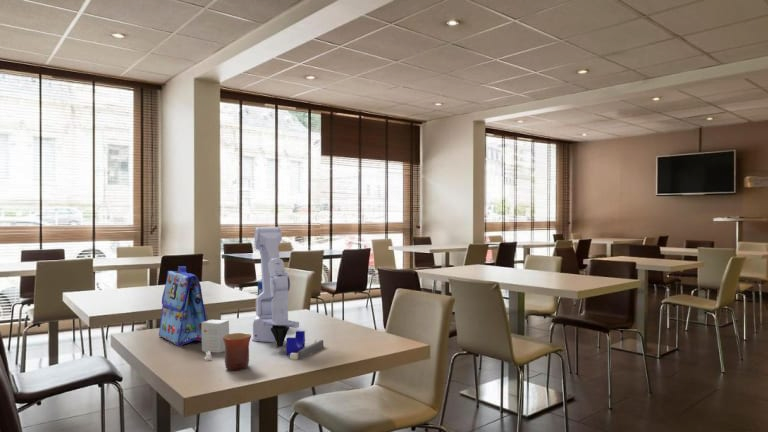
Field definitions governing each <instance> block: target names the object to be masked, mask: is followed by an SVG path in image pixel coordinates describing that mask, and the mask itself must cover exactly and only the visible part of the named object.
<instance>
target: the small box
mask: <svg viewBox="0 0 768 432" xmlns="http://www.w3.org/2000/svg"><path fill="white" fill-rule="evenodd" d="M201 327H202V341H201V352H206V353H208V351H210V353H218V354H221V353H223V352H225V344H224V341H223V336H225V335H228V334H230V321H229V320H226V319H225V320H224V319H207V321H205V322H202V323H201Z"/></svg>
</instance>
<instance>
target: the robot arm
mask: <svg viewBox="0 0 768 432" xmlns="http://www.w3.org/2000/svg"><path fill="white" fill-rule="evenodd" d="M253 237H254V239H253V240H254V248H255V250H258V251H259V254H260V266H261V267H260V268H261V279H262V288H263V292H262V293H261V294H260V295H258V294H257V296H256V298H255V314H256V317H255V318H254V319H253V322H252V323H253V324H252V332H253V333H252V335H253V336H252V338H251V341H253V342H264V343H275V344H276V346H277V348H282V347H284V344H285V341H286V340H285V339H286V338H287V334H288V332H289V330H290V328H292V329H298V328H300V322H299V321H295V320H294V321H293V320H289V291H290V289H291V279H290V276H289V275H288V273H287V272H286V268H285V263H284V260H283V259H281V258H280V251H279V250H280V249H279V246H280V244H281V241H282V237H283V231H282V228H281V227H280V226H276V227H275V226H272V227H271V226H270V227H269V226H268V227H266V226H265V227H259V226H256V228H255V229H254V233H253ZM264 299H272V300H264ZM261 300H263V301H261Z"/></svg>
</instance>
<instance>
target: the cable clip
mask: <svg viewBox="0 0 768 432" xmlns="http://www.w3.org/2000/svg"><path fill="white" fill-rule="evenodd" d="M305 334H306V330H296V331H295V335H294V337H290V336H289V337H285V339H286V340H285V341H286V343H285V344H286V347H285V348H286V356H290V353H298V351H300V350H302V349H304V348H306V347H305V346H306V342H305V341H306V337H305V336H306V335H305Z"/></svg>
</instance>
